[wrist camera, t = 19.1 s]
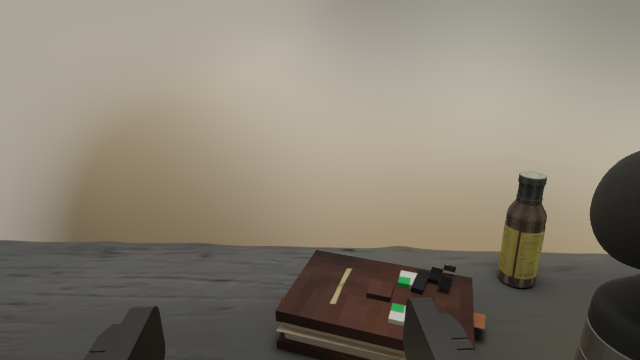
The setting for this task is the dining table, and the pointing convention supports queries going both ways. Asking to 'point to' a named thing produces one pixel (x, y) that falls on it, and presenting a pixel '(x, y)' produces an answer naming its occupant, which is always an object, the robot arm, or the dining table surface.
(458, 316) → the decorative book
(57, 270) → the dining table surface
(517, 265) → the sauce bottle
